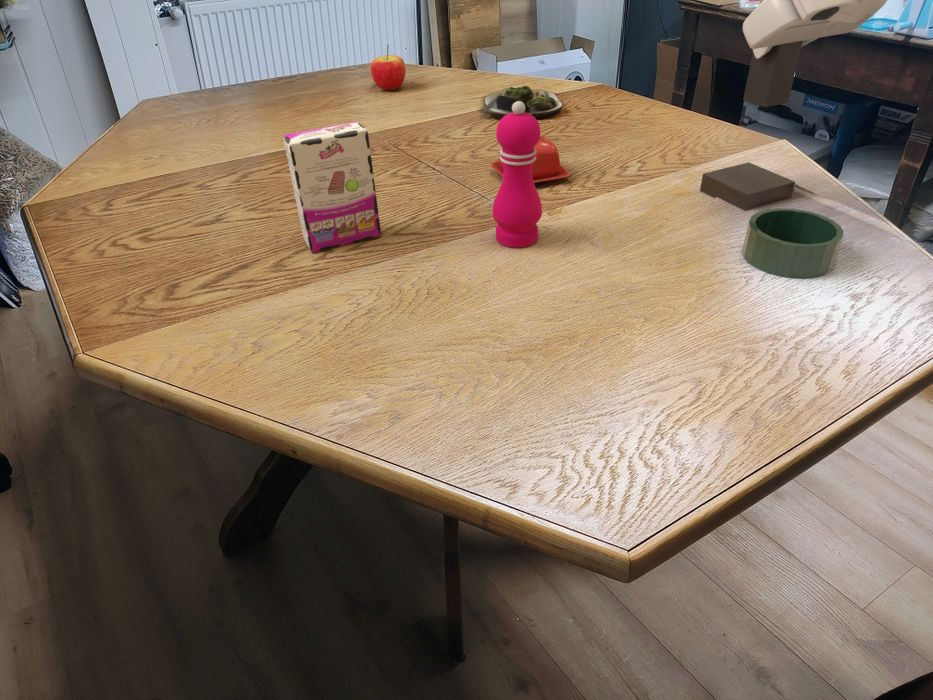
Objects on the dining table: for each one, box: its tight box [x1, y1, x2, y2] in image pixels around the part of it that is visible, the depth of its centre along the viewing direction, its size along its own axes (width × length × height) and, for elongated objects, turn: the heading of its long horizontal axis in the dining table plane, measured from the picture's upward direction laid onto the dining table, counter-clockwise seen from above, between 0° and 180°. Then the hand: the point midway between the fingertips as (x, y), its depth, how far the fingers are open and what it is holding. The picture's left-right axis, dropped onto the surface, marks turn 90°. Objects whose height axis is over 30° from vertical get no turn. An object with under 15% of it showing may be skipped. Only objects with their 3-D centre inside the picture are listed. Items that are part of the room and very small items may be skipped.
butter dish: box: [490, 134, 571, 184], centre depth 119 cm, size 12×12×8 cm
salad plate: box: [481, 84, 563, 121], centre depth 152 cm, size 19×18×5 cm
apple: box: [370, 44, 406, 91], centre depth 166 cm, size 8×8×10 cm
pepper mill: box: [491, 101, 543, 249], centre depth 96 cm, size 7×7×20 cm
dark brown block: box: [742, 41, 803, 108], centre depth 100 cm, size 4×4×10 cm
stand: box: [699, 162, 796, 212], centre depth 111 cm, size 10×10×3 cm
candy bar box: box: [282, 121, 382, 254], centre depth 99 cm, size 11×5×16 cm, turn 115°
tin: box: [741, 207, 844, 280], centre depth 93 cm, size 12×12×5 cm
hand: (772, 51), depth 99 cm, fingers closed on dark brown block, 4 cm apart
